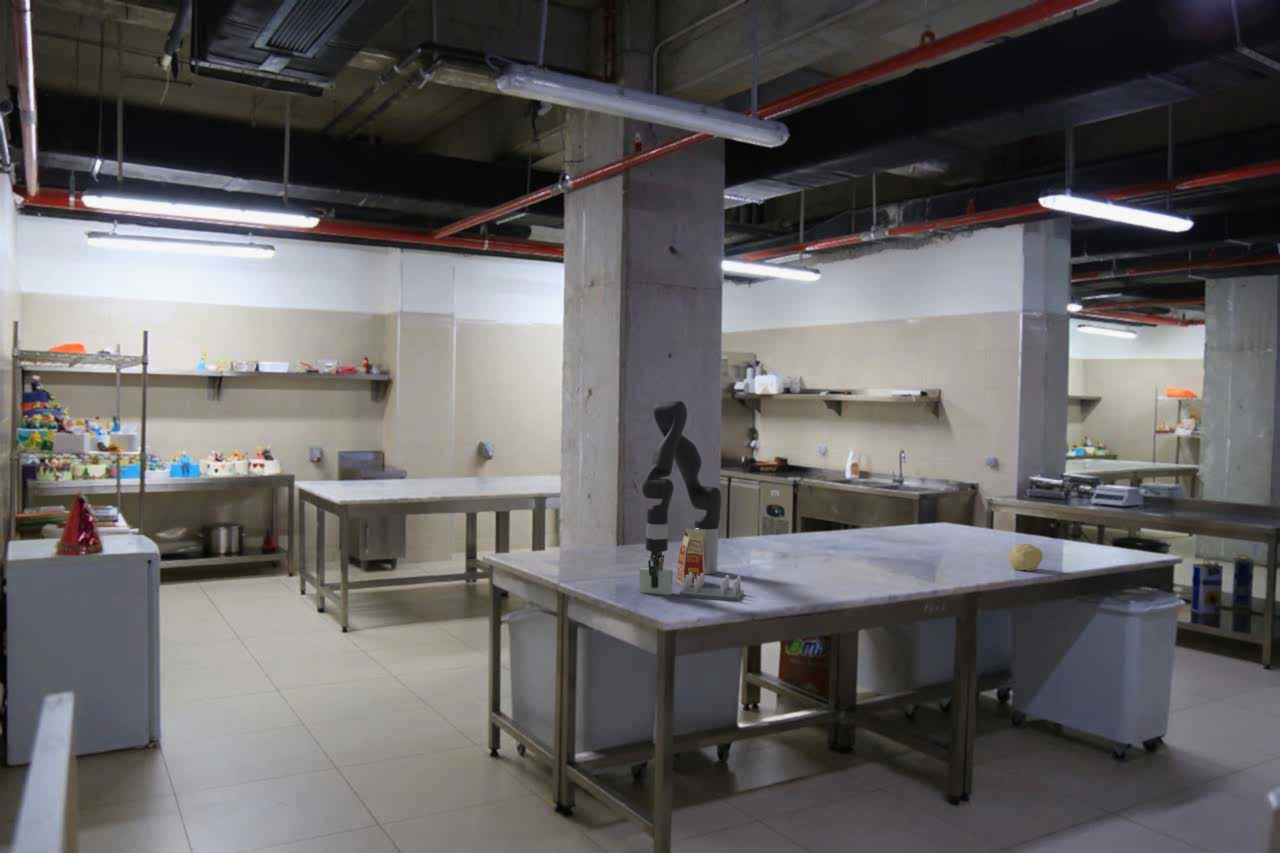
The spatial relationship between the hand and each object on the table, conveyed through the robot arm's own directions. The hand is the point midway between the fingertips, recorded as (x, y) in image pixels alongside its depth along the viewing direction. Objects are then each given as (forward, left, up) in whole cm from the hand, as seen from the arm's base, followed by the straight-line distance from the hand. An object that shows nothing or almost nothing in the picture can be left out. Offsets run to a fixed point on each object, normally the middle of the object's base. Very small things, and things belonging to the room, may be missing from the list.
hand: (655, 586), depth 308 cm
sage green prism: (0, 0, -2) cm, 2 cm away
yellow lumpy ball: (-99, +132, -2) cm, 165 cm away
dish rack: (-3, +19, -2) cm, 19 cm away
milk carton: (-22, +8, -2) cm, 23 cm away
